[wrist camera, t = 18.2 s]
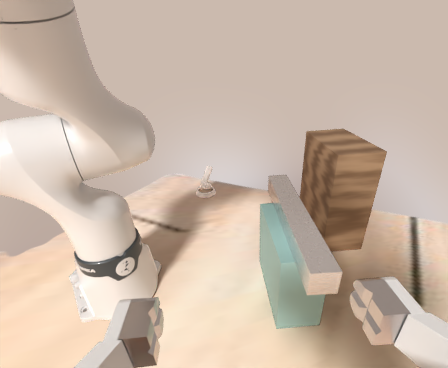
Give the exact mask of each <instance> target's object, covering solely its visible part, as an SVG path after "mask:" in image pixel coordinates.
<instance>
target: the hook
mask: <svg viewBox="0 0 448 368" xmlns="http://www.w3.org/2000/svg"><path fill="white" fill-rule="evenodd" d="M211 171H212V167H210V166H207V167H206V170H205V172H204V175H203V178H202V180H201V184H200V187H199V188H198V189H197V191H196V195H197V196H198V197H201V198H208V197H212V196H214V195H215V194H216V190H215V188H214V187H213V186H212V185H211V183H209V182H208V179H209V176H210V173H211ZM201 189H213V190H212V191H211V192H208V193H201V192H199V190H201Z"/></svg>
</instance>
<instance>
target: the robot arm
mask: <svg viewBox="0 0 448 368" xmlns="http://www.w3.org/2000/svg"><path fill="white" fill-rule="evenodd" d="M0 94H2V95H3V96H5V97H6V98H8V99H10V100H12V101H14V102H16V103H19V104H21V105H25V106H28V107H32V108H36V109H40V110H44V111H47V112H50V113H53V114H48V115H40V116H32V117H24V118H17V119H9V120H6V121H2V122H0V196H6V197H11V198H15V199H18V200H21V201H24V202H27V203H29V204H32V205H34V206H36V207H38V208H40V209H41V210H43V211H45V212H46V213H48V214H49V215H50V216H52V217H53V218H54V219H55V220H56V221H57V222H58V223H59V224H60V225H61V227H62V228H63V230H64V231H65V233H66V235H67V236H68V238H69V240H70V242H71V244H72V246H73V248H74V250H75V252H74V255H75V265H76V270H75V271H74V272H73V273H72V274H71V275H70V276H69V278H70V281H71V283H72V285H73V290H74V294H75V299H76V303H77V307H78V312H79V316H80V319H81V321H82V322H90V321H93V320H97V319H103V320H111V321H110V324H109V327H108V329H107V332H106V334H105V337H104V340H103V342H98V343H97V344H96V345H95V347H94V348H93V349H92V350H91V351H90V352H89V353H88V354H87V355H86V356H85V357H84V358H83V359H82V360H81V361H80V362H79V363H78V364H77V365H76V366H75V367H74V368H137V367H145V366H153V365H157V360H158V355H159V349H160V345H159V342H158V339H159V338H160V336H161V335H162V331H163V320H164V319H163V312H162V309H160V308H159V305H160V301H159V298H158V297H154V298H152V297H153V295H154V293H155V291H156V288H157V284H158V274H159V272H160V270H161V264H160V262H158V261H156V260H154V259H153V257H152V254H151V251H150V248H149V246H148V245H145V244H144V243H142V242H141V237H140V234H139V233H138V230H137V229H136V228H135V227H134V223H133V220H132V216H131V213H130V209H129V206H128V203H127V202H126V200H125V199H124V198H123V197H122V196H120V195H118V194H116V193H114V192H111V191H108V190H101V189H95V188H92V187H89V186H87V185H85V184H84V183H82V182H83V181H84V180H88V179H93V178H97V177H101V176H105V175H109V174H113V173H118V172H121V171H125V170H128V169H130V168H132V167H134V166H137V165H139V164H141V163H143V162H145V161H147V160H149V158H150V157H151V155H152V153H153V150H154V145H155V135H154V131H153V128H152V126H151V124H150V122H149V121H148V119H147V118H146V117H145V116H144V115H143V114H142V113H141V112H140V111H139V110H137V109H136V108H134V107H131V106H129V105H127V104H125V103H123V102H122V101H120V100H119V99H117V98H116V97H115V96H113V95H112V94H111V93H110V92H109V91H108V90H107V89H106V87H105V86H104V85H103V84H102V82H101V81H100V79H99V78H98V76H97V74H96V72H95V70H94V67H93V65H92V62H91V60H90V57H89V54H88V51H87V48H86V45H85V42H84V39H83V35H82V32H81V28H80V25H79V21H78V18H77V14H76V10H75V6H74V3H73V0H0ZM353 287H354V289H355V290H354V291H353V292H352V293H351V294H350V305H351V308H352V311H353V313H354V315H355V316H356V318H358V319H359V320H360V321H362V322H363V325H362V329H363V331H364V332H365V334H366V336H367V338H368V339H369V341H370V343H371V345H387V344H394V346H395V347H396V348H398V349H399V350H400V351H401V352H402V353H403V354H405V355H406V356H407V357H408V358H409V359H410V360H412V361H413V362H414V363H415V364H416V365H417V366H419V367H420V368H448V323H447V322H445V321H443V320H442V319H440V318H438V317H436V316H435V315H433V314H431V313H426V312H425V311H424V310H423V309H422V308H421V307H420V305H419V304H418V303H417V302H416V301H415V300H414V298H413V297H412V296H411V295H410V294H409V293H408V291H407V290H406V289H405V288H404V287H403V286H402V284H401V283H400V282H399V281H398V280H397V279H396V278H395V277H381V278H379V277H377V278H368V279H358V280H355V281H354V283H353ZM86 310H87V311H86ZM85 311H86V312H85Z"/></svg>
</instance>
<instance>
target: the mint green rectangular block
mask: <svg viewBox="0 0 448 368" xmlns="http://www.w3.org/2000/svg"><path fill="white" fill-rule="evenodd" d="M260 264H261V268H262V272H263V276H264V280H265V284H266V288H267V292H268V296H269V300H270V304H271V308H272V312H273V316H274V320H275V324H276V328H277V329H279V328H291V327H302V326H313V325H319V324H320V319H321V314H322V309H323V304H324V299H325V295H326V294H322V295H307V294H306V291H305V288H304V286H303V283H302V280H301V278H300V275H299V272H298V269H297V267H296V264H295V261H294V259H293V256H292V253H291V251H290V248H289V245H288V243H287V240H286V237H285V235H284V232H283V229H282V227H281V224H280V221H279V219H278V216H277V213H276V211H275V208H274V205H273V203H267V204H260Z"/></svg>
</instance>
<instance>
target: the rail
mask: <svg viewBox="0 0 448 368" xmlns="http://www.w3.org/2000/svg"><path fill="white" fill-rule="evenodd" d="M268 192H269V195H270V197H271V200H272V203H273V205H274V208H275V211H276V213H277V216H278V219H279V221H280V224H281V227H282V229H283V232H284V235H285V237H286V240H287V243H288V245H289V248H290V251H291V253H292V256H293V259H294V261H295V264H296V267H297V269H298V272H299V275H300V278H301V280H302V283H303V286H304V288H305V291H306V294H307V295H322V294H338V290H339V285H340V281H341V277H342V273H343V272H342V270H341V268H340V266H339V265H338V263H337V261H336V260H335V258H334V256H333V254H332V253H331V251H330V249H329V247H328V246H327V244H326V242H325V241H324V239H323V237H322V235H321V234H320V232H319V230H318V229H317V227H316V225H315V223H314V222H313V220H312V218H311V216H310V215H309V213H308V211H307V210H306V208H305V206H304V204H303V203H302V201H301V199H300V198H299V196H298V194H297V192H296V191H295V189H294V187H293V186H292V184H291V182H290V180H289V179H288V177H287V175H277V176H269V184H268Z"/></svg>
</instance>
